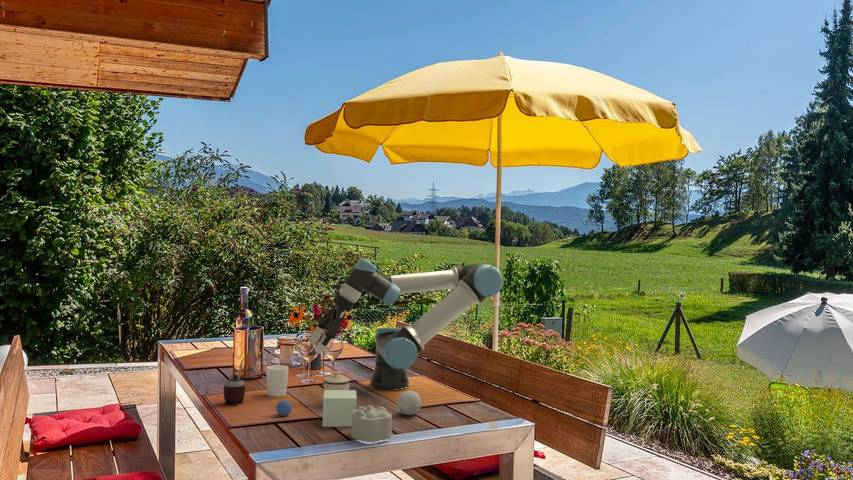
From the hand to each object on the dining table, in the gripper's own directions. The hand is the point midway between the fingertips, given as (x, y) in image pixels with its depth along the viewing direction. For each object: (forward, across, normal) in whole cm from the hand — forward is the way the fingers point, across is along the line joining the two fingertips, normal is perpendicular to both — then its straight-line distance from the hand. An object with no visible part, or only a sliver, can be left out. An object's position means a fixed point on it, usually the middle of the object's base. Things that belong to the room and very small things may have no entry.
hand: (314, 348), depth 238 cm
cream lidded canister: (+12, +11, +14) cm, 22 cm away
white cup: (+22, -6, -1) cm, 23 cm away
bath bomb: (0, +30, +32) cm, 43 cm away
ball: (+19, +21, -4) cm, 29 cm away
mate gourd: (+29, +3, -14) cm, 33 cm away
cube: (+12, +32, +11) cm, 36 cm away
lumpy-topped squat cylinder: (+9, +49, +15) cm, 52 cm away
